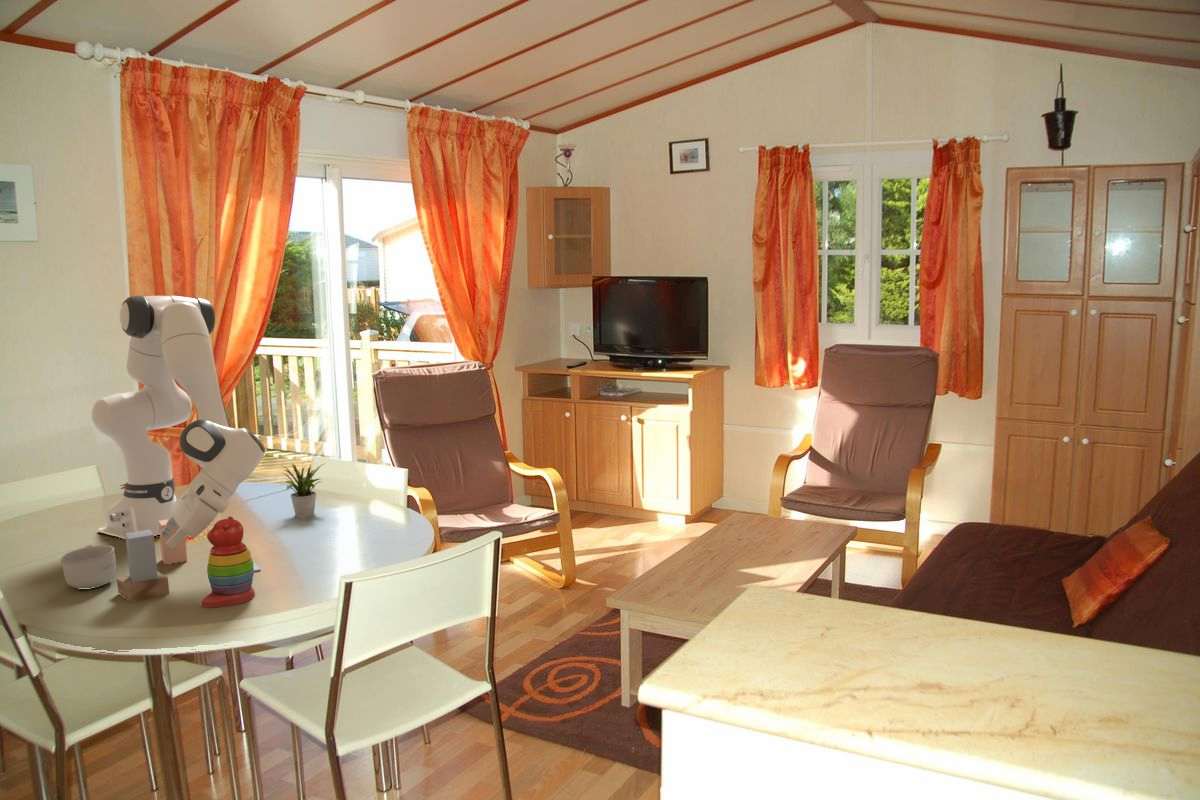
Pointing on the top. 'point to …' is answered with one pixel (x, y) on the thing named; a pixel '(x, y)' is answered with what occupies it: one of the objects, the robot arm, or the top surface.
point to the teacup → (89, 566)
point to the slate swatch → (256, 568)
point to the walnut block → (142, 588)
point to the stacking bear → (228, 566)
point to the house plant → (303, 491)
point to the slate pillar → (141, 556)
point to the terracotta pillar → (174, 553)
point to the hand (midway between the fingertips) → (165, 541)
